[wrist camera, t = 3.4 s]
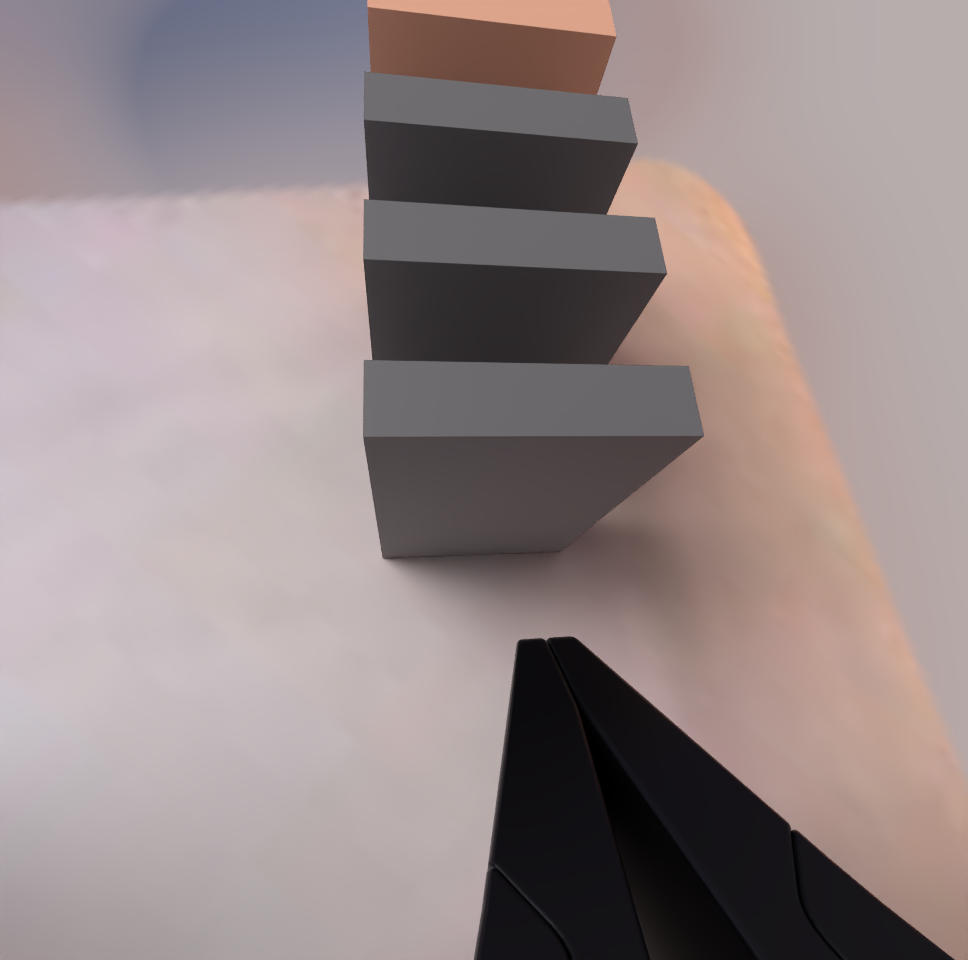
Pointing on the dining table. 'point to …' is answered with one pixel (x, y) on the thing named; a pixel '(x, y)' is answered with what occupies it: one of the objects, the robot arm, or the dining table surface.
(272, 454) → the dining table surface
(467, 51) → the end tile
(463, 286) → the tile
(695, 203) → the dining table surface
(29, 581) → the dining table surface
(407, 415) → the tile
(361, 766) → the dining table surface
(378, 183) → the tile
